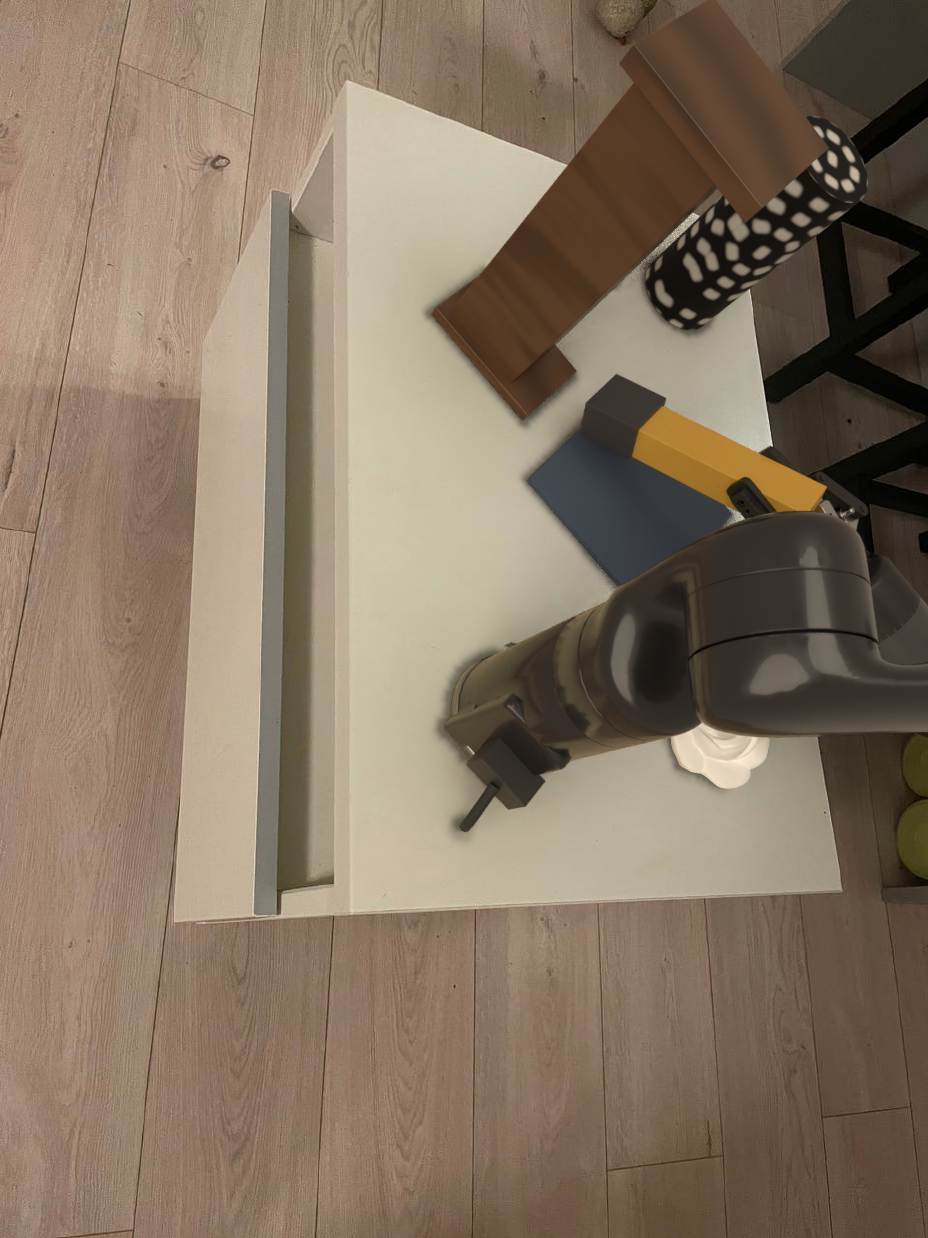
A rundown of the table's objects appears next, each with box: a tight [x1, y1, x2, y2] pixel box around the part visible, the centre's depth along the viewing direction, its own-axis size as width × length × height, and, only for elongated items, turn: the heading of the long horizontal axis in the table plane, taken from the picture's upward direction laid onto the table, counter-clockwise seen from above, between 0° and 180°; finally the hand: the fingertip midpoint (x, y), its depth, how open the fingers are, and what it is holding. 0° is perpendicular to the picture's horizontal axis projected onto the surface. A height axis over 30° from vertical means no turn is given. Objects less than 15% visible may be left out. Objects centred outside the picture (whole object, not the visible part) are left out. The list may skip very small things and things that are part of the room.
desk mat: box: [526, 427, 733, 588], centre depth 84 cm, size 16×16×1 cm
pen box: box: [579, 373, 827, 513], centre depth 76 cm, size 5×20×4 cm
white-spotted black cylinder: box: [645, 115, 869, 331], centre depth 86 cm, size 8×8×20 cm
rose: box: [670, 723, 771, 790], centre depth 79 cm, size 10×4×10 cm
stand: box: [430, 0, 829, 421], centre depth 69 cm, size 10×12×30 cm
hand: (748, 468), depth 74 cm, fingers closed on pen box, 4 cm apart
